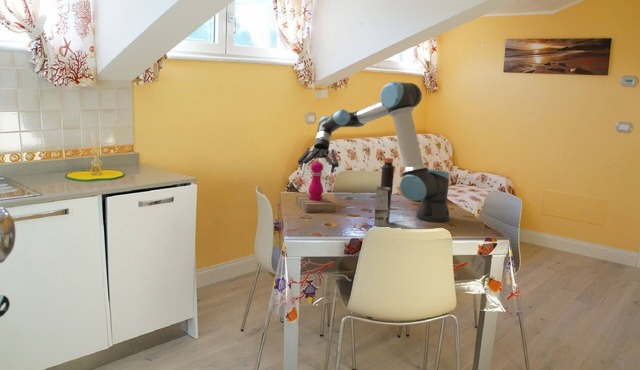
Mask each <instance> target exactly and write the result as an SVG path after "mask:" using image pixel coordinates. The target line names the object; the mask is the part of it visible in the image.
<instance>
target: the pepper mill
mask: <svg viewBox="0 0 640 370" xmlns="http://www.w3.org/2000/svg"><path fill="white" fill-rule="evenodd" d="M310 170H311V182H310V183H309V184H310V185H309V186H308V191H307V192H308V193H309V194H308V195H309V199H310V200H314V201H320V200H322V196H321V195H323V193H324V187H323V184H322V181H321V180H322V179H321V177H322V174H323V173H322V171H323V170H324V164H323V163H322V162H320V158H315V161H314V162H312V163H311V164H310Z"/></svg>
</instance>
